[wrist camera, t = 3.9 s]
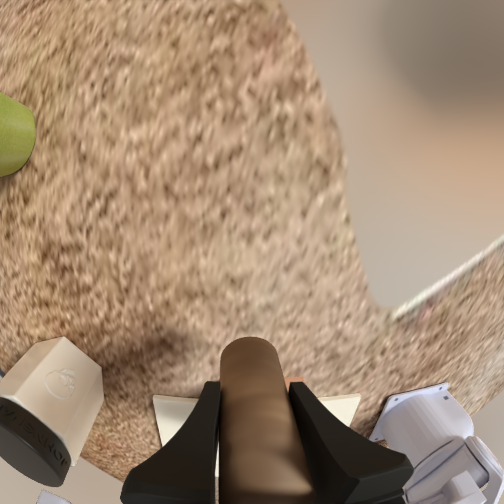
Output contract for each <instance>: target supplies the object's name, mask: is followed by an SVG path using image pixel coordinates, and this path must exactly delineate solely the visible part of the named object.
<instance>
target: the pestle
mask: <svg viewBox="0 0 504 504" xmlns="http://www.w3.org/2000/svg"><path fill="white" fill-rule="evenodd" d="M220 382H221V391H220V413H219V504H310V503H312V502H313V500H314V499H315V497H316V492H315V489H314V485H313V482H312V478H311V474H310V471H309V467H308V464H307V460H306V456H305V453H304V449H303V445H302V442H301V438H300V435H299V431H298V427H297V424H296V420H295V416H294V413H293V409H292V405H291V402H290V398H289V395H288V391H287V387H286V384H285V380H284V376H283V373H282V369H281V365H280V362H279V358H278V354H277V351H276V349H275V348H274V346H273V345H272V344H271V343H269V342H268V341H266V340H264V339H261V338H258V337H243V338H239V339H237V340H235V341H233V342H231V343H230V344H229V345H227V346H226V348H225V349H224V350H223V352H222V355H221V361H220Z"/></svg>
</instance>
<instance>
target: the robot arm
mask: <svg viewBox="0 0 504 504" xmlns="http://www.w3.org/2000/svg"><path fill="white" fill-rule="evenodd" d="M448 385H449V384H448V383H447V382H445V383H442V384H438V385H434V386H430V387H427V388H423V389H419V390H414V391H410V392H406V393H401V394H396V395H392V396H390V397H389V398H388V400H387V402H386V404H385V406H384V409H383V411H382V413H381V415H380V417H379V419H378V421H377V423H376V426H375V428H374V430H373V432H372V433H371V435H370V437H369V440H368V439H367V438H365V437H363V436H361V435H360V434H358V433H357V432H355V431H353V430H352V429H351V428H349V427H348V426H346V425H345V424H344V423H342V422H341V421H340V420H339V419H338V418H337V417H335V416H334V415H333V414H332V413H331V412H330V411H329V410H328V409H327V408H326V407H325V406H324V405H323V404H322V403H321V402H320V401H319V400H318V399H317V397H316V396H315V395H314V394H313V393H312V392H311V391H310V389H309V388H308V387H307V386H306V385H305V383H304V382H303V381H301V382H290V385H289V390H288V395H289V398H290V402H291V405H292V409H293V413H294V416H295V420H296V424H297V427H298V431H299V435H300V438H301V442H302V445H303V449H304V453H305V456H306V460H307V464H308V467H309V471H310V474H311V478H312V482H313V485H314V489H315V492H316V497H315V499H314V500H313V502H312V503H310V504H497V503H498V501H499V499H500V497H501V495H502V492H503V490H504V470H503V469H502V467H501V465H500V463H499V462H498V460H497V459H496V457H495V456H494V455H493V453H492V452H491V451H490V450H489V449H488V447H487V446H486V445H485V444H484V443H483V442H482V441H481V440H480V439H479V438H478V437H477V436H473V431H474V428H473V423H472V420H471V417H470V416H469V414H468V413H467V412H466V411H465V410H464V409H463V408H462V406H461V405H460V404H459V403H458V402H457V401H456V400H455V399H454V397H453V396H452V395H451V394H450V393H449V392H448V391H447V388H448ZM220 391H221V382H212V381H207V382H206V383H205V385H204V388H203V391H202V393H201V395H200V398H199V400H198V402H197V403H196V405H195V407H194V409H193V410H192V412H191V414H190V415H189V416H188V418H187V419H186V421H185V422H184V424H183V425H182V426H181V428H180V429H179V430H178V431H177V432H176V434H175V435H174V436H173V437H172V438H171V439H170V440H169V441H168V442H167V443H166V444H165V445H164V446H163V447H162V448H161V449H160V450H158V451H157V452H156V453H155V454H153V455H152V456H151V457H150V458H148V459H147V460H146V461H144V462H143V463H141V464H139V465H138V466H136V467H135V468H133V469H131V471H130V472H129V474H128V476H127V478H126V480H125V482H124V485H123V487H122V492H121V496H120V499H121V502H122V503H123V504H215V470H216V459H217V451H218V443H219V413H220ZM383 439H385V440H386V442H387V444H388V446H389V447H390V449H388V448H386V447H383V446H381V445H379V444H376V443H374V442H375V441H379V440H383ZM488 481H489V483H488V485H487V487H486V489H485V490H484V491H482V492H481V490H480V488H481V487H483V486H484V485H485V484H486V483H487V482H488ZM403 486H405V489H402V487H403ZM36 504H72V503H71V502H69V501H68V500H66V499H64V498H62V497H60V496H57V495H55V494H52V493H50V492H48V491H46V490H42V491H41V493H40V495H39V498H38V500H37V503H36Z"/></svg>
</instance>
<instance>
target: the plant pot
mask: <svg viewBox="0 0 504 504" xmlns="http://www.w3.org/2000/svg"><path fill="white" fill-rule="evenodd" d="M35 139H36V129H35V122H34V115H33V113H32V111H31V110H30V109H29V108H28V107H26V106H24V105H22V104H21V103H19V102H17V101H15V100H13V99H12V98H10V97H8V96H6V95H5V94H3V93H1V92H0V177H2V176H6V175H10V174H12V173H14V172H16V171H17V170H19V169H20V168H21V167H23V165H24V164H25V163H26V162H27V160H28V158H29V156H30V154H31V152H32V150H33V147H34V143H35Z"/></svg>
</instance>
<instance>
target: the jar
mask: <svg viewBox="0 0 504 504" xmlns="http://www.w3.org/2000/svg"><path fill="white" fill-rule="evenodd" d="M103 402H104V392H103V380H102V368H101V366H99V365H98V364H97V363H96V362H94V361H93V360H92V359H91V358H89V357H88V356H87V355H86V354H85V353H83V352H82V351H81V350H80V349H79V348H77V347H76V346H75V345H74V344H73V343H72V342H71V341H69V340H68V339H67V338H66V337H65V336H62V337H58V338H54V339H50V340H45V341H41V342H37V343H35V344H34V345H33V346H32V347H31V348H30V349H29V350H28V351H27V352H26V353H25V354H24V355H23V356H22V357H21V359H20V360H19V361H18V362H17V363H16V364H15V365H14V366H13V367H12V368H11V369H10V370H9V372H8V373H7V374H6V375H5V376H4V377H3V378H2V380H1V381H0V456H1V457H2V458H3V459H4V460H5V461H6V462H7V463H8V464H10V465H11V466H12V467H13V468H15V469H16V470H18V471H19V472H21V473H22V474H24V475H25V476H27V477H29V478H30V479H32V480H34V481H36V482H38V483H41V484H43V485H46V486H50V487H59V486H61V485H62V484H63V482H64V480H65V477H66V474H67V472H68V470H69V467H70V466H71V467H74V466H75V465H76V463H77V461H78V458H79V456H80V453H81V451H82V449H83V446H84V444H85V442H86V439H87V437H88V435H89V432H90V430H91V428H92V426H93V423H94V421H95V419H96V417H97V415H98V412H99V410H100V408H101V406H102V404H103Z"/></svg>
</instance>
